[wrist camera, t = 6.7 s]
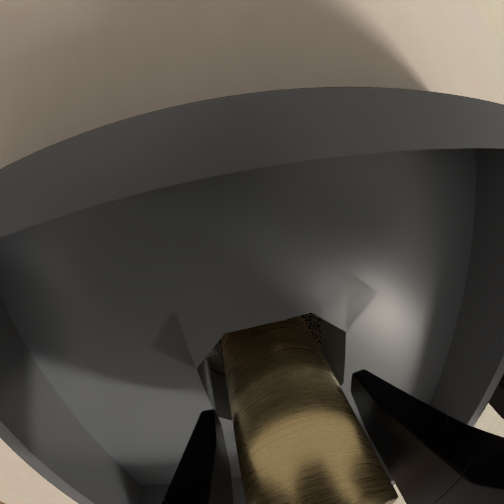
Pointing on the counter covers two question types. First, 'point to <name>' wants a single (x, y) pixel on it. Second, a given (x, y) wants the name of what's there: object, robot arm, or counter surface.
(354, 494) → the brass peg
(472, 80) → the counter surface
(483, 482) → the robot arm
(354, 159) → the tray
